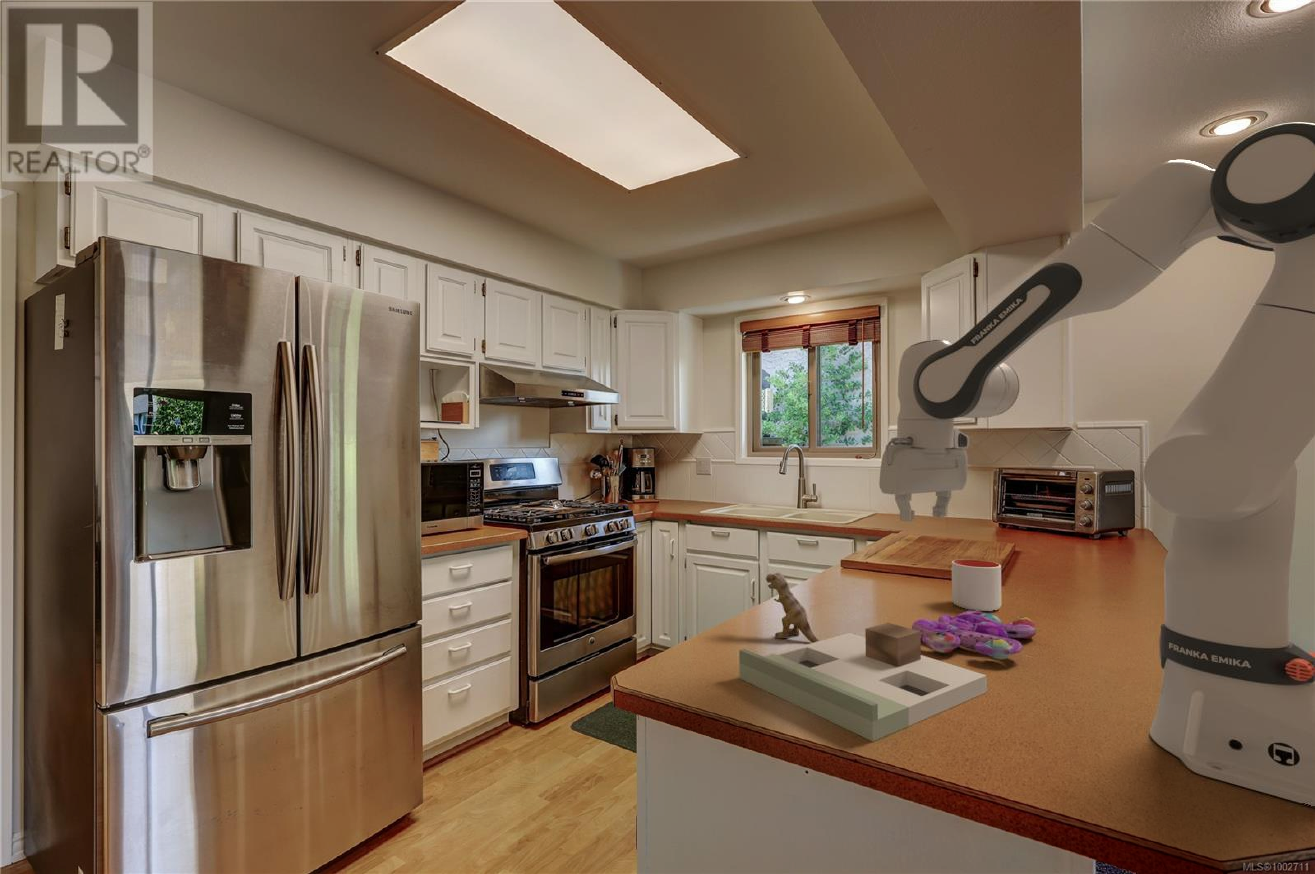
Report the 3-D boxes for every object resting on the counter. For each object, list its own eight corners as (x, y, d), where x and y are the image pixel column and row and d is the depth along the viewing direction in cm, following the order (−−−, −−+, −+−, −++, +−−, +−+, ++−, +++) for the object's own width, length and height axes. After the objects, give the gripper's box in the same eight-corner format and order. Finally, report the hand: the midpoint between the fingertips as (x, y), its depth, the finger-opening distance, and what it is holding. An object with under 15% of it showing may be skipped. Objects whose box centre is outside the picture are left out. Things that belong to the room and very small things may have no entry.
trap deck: (986, 692, 91) (986, 662, 91) (872, 741, 76) (872, 705, 76) (850, 646, 112) (849, 622, 112) (739, 678, 97) (739, 650, 97)
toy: (749, 600, 125) (776, 564, 122) (820, 660, 118) (850, 624, 115) (737, 611, 119) (765, 572, 115) (810, 675, 112) (842, 636, 109)
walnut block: (920, 659, 98) (920, 631, 98) (898, 667, 94) (897, 638, 94) (888, 649, 103) (888, 622, 103) (865, 656, 99) (865, 628, 99)
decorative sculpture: (888, 649, 113) (1003, 673, 97) (887, 623, 113) (1001, 643, 98) (958, 623, 131) (1065, 640, 115) (957, 601, 131) (1063, 615, 116)
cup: (1002, 605, 140) (1002, 561, 140) (1000, 615, 132) (999, 569, 132) (954, 599, 145) (954, 557, 146) (949, 609, 137) (949, 564, 137)
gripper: (904, 437, 95) (903, 526, 95) (975, 438, 106) (973, 517, 106) (870, 437, 100) (869, 520, 100) (941, 437, 111) (939, 512, 111)
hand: (923, 518), depth 103 cm, fingers open, 8 cm apart
